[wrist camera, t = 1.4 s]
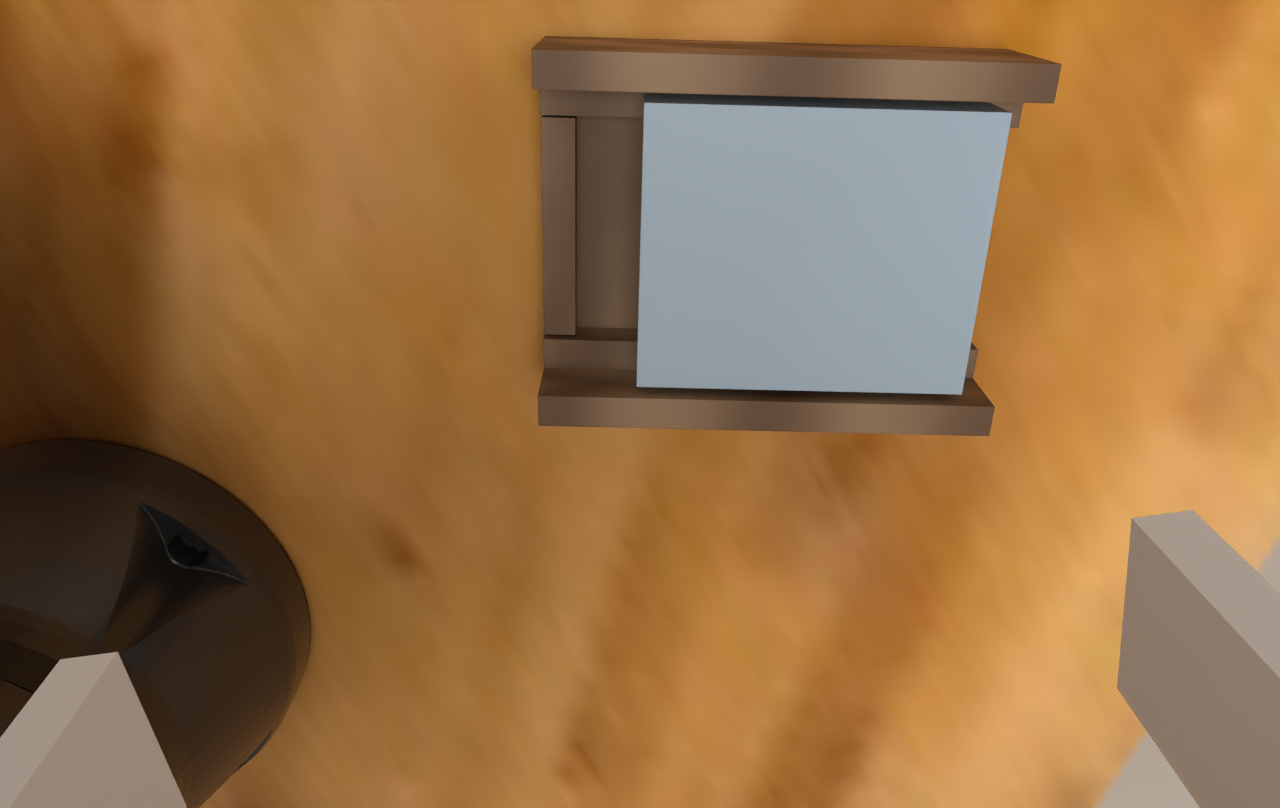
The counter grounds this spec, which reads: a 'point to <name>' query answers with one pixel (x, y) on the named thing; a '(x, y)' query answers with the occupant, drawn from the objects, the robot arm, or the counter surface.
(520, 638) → the counter surface
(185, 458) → the counter surface
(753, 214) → the cover plate
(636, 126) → the lid box
